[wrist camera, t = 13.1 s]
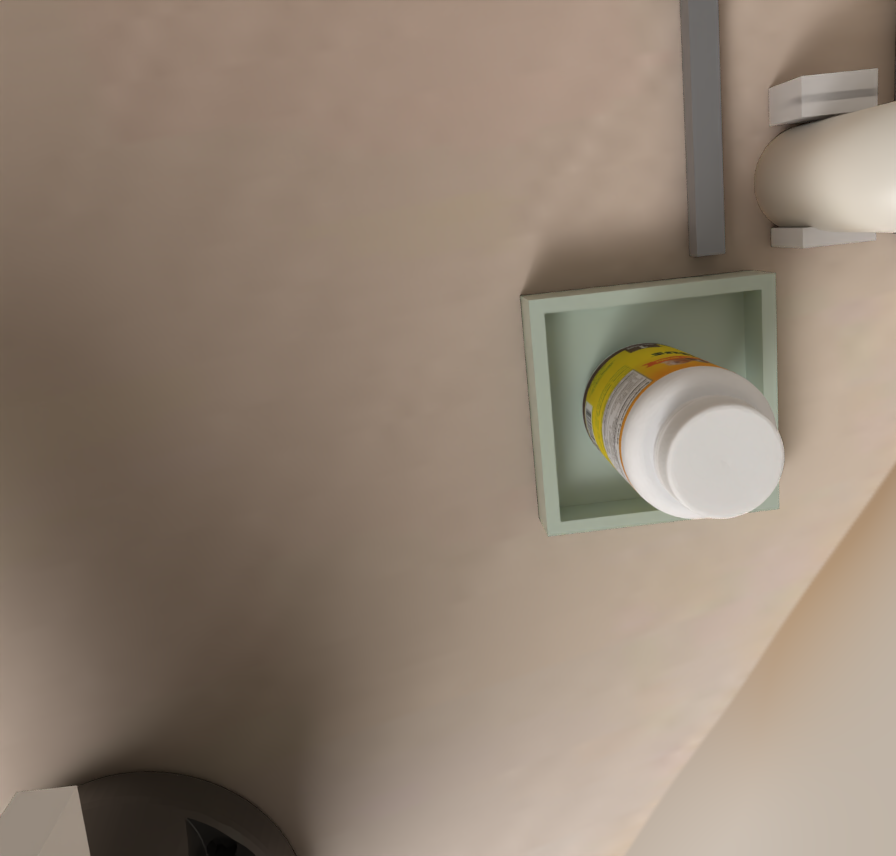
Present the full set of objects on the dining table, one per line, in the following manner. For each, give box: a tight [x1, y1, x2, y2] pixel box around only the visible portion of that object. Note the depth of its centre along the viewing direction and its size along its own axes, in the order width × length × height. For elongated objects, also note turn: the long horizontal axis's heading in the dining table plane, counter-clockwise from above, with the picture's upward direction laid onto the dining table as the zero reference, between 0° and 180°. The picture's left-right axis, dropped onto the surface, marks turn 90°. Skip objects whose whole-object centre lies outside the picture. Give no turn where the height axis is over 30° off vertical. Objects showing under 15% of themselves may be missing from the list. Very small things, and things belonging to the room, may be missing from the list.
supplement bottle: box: [582, 343, 784, 519], centre depth 33 cm, size 6×6×10 cm
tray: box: [520, 270, 779, 537], centre depth 37 cm, size 10×10×2 cm
